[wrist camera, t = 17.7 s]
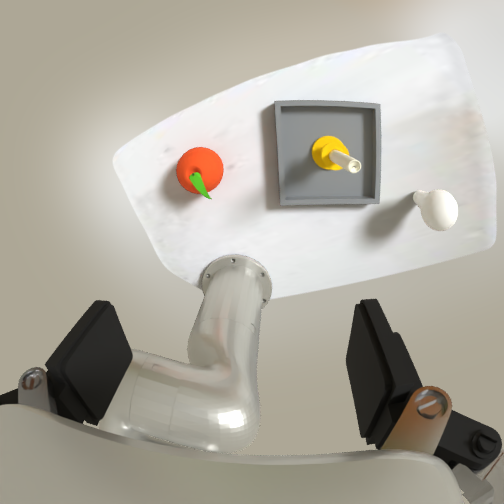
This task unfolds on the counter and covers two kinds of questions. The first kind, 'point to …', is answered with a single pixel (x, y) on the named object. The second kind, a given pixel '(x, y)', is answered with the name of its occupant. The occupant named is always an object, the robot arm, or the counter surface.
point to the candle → (333, 155)
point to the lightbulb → (437, 208)
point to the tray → (341, 127)
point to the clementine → (200, 170)
